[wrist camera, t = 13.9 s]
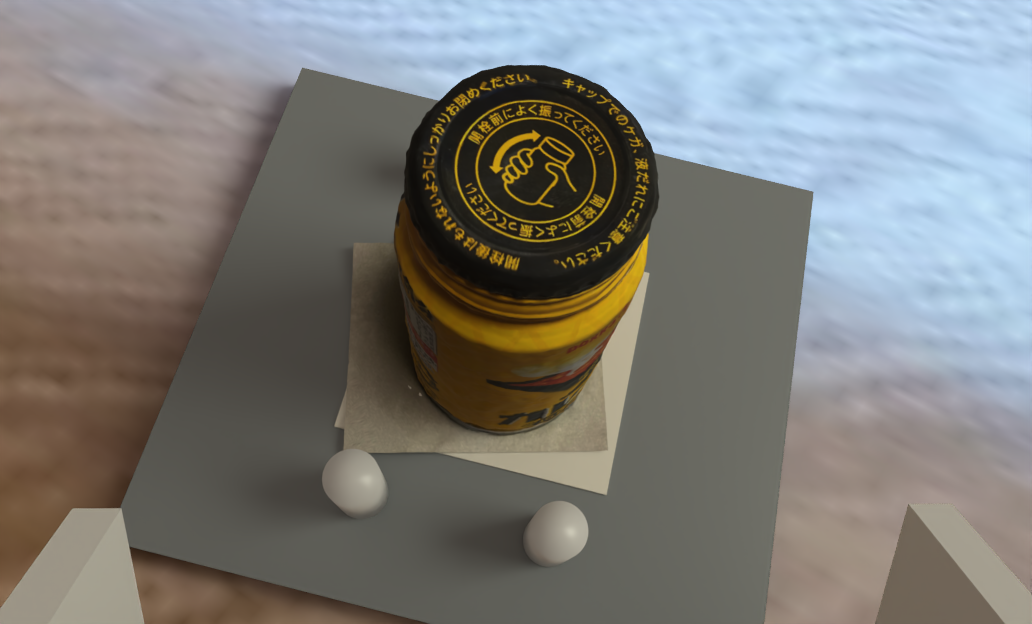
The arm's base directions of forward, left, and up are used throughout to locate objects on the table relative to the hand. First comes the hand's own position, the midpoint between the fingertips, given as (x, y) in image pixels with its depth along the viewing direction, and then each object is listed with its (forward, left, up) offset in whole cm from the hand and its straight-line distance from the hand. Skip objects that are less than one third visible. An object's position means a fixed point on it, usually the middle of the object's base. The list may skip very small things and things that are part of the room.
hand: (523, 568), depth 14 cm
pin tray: (+2, -8, -13) cm, 15 cm away
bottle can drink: (+2, -8, -12) cm, 14 cm away
